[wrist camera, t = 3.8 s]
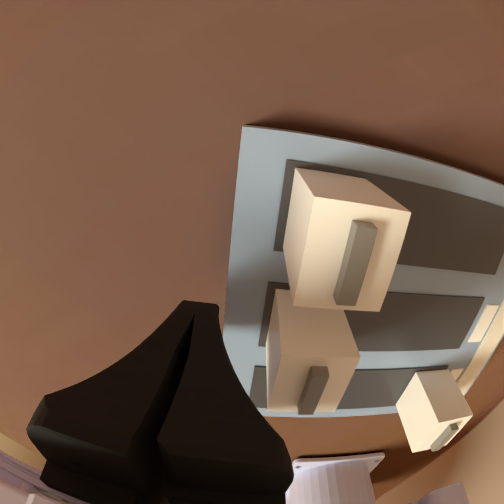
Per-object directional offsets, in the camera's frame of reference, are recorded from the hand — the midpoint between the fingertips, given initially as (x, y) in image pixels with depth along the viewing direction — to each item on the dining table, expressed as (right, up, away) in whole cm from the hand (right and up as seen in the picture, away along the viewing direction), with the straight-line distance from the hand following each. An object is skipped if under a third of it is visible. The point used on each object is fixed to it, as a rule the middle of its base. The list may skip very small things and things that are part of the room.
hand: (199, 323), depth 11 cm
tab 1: (+4, +4, -1) cm, 6 cm away
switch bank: (+9, 0, +2) cm, 9 cm away
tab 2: (+12, -5, +3) cm, 13 cm away
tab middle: (+4, 0, +1) cm, 4 cm away
